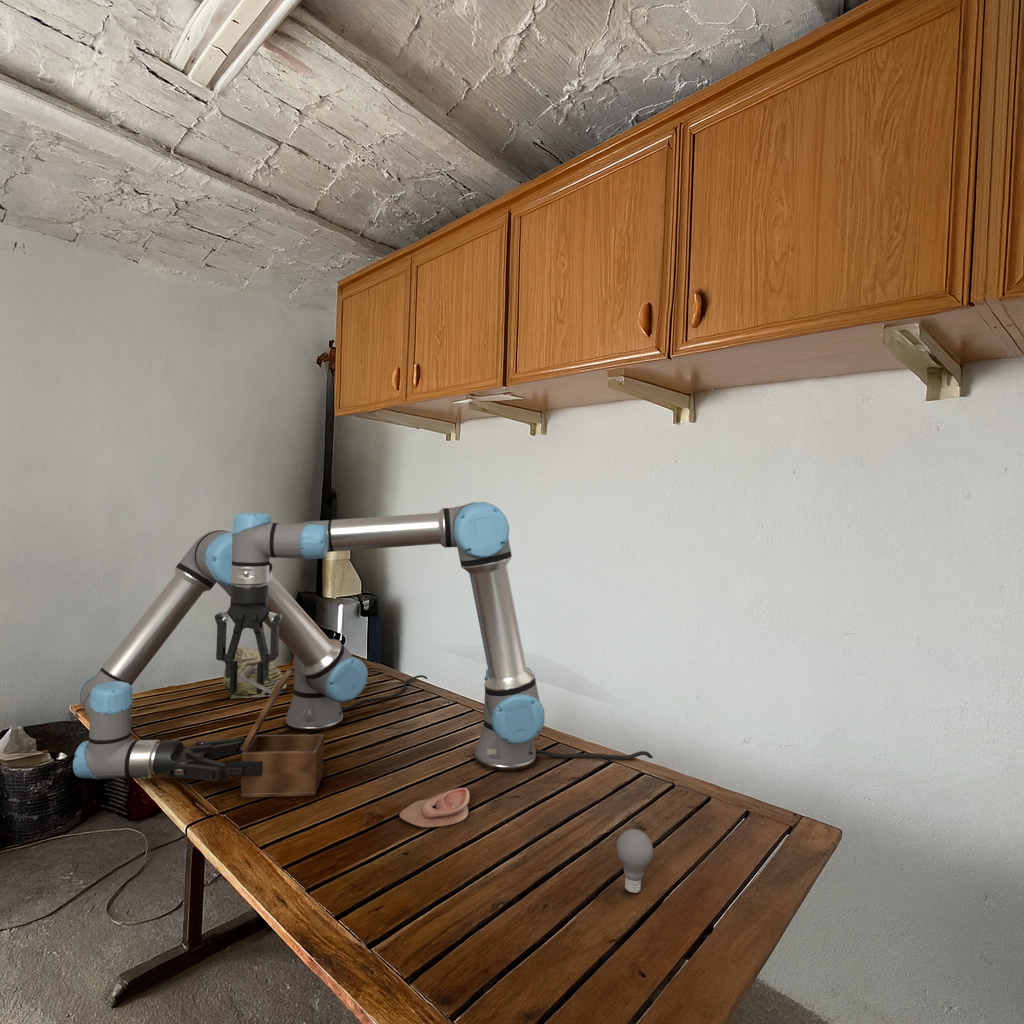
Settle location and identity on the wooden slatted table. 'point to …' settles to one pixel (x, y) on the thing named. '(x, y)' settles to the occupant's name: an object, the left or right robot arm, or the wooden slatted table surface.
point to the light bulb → (634, 857)
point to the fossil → (252, 658)
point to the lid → (274, 694)
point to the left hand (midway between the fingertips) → (267, 757)
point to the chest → (284, 765)
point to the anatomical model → (438, 809)
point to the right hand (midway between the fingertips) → (246, 692)
